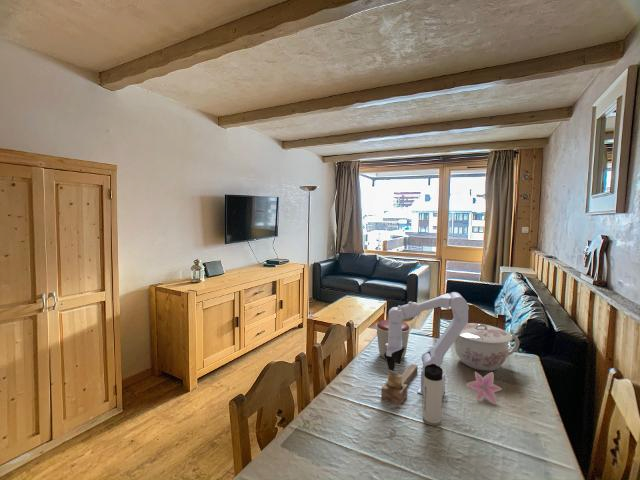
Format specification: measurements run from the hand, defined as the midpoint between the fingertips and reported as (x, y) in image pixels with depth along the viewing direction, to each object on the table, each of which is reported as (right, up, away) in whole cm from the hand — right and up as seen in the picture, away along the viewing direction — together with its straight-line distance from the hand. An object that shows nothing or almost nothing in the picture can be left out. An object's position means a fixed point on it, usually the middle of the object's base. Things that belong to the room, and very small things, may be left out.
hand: (394, 366), depth 141 cm
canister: (+6, -7, +32) cm, 33 cm away
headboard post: (+5, -9, +3) cm, 11 cm away
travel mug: (+9, -12, -21) cm, 26 cm away
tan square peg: (-1, -9, -6) cm, 11 cm away
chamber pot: (+48, -8, +23) cm, 54 cm away
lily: (+36, -11, -6) cm, 38 cm away
